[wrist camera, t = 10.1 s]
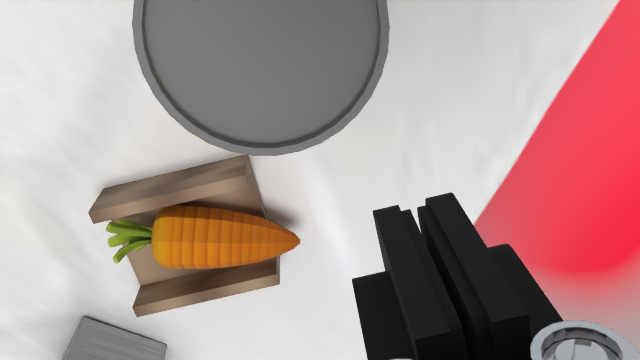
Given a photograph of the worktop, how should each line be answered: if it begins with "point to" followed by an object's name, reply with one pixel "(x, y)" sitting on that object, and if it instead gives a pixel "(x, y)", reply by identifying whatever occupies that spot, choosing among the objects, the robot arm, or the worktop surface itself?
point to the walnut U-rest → (200, 191)
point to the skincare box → (111, 344)
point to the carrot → (203, 238)
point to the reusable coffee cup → (262, 67)
